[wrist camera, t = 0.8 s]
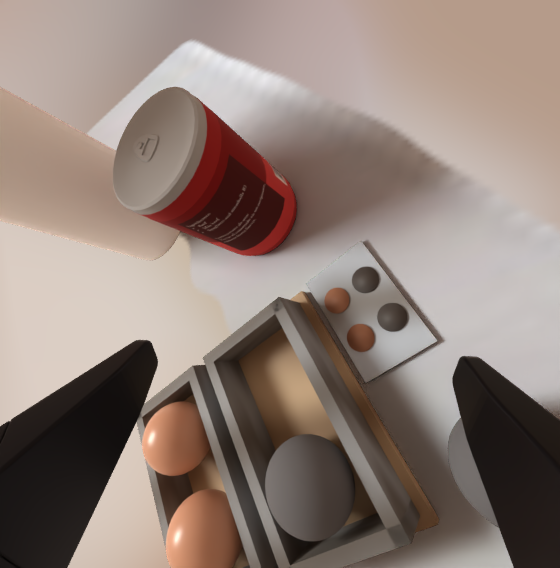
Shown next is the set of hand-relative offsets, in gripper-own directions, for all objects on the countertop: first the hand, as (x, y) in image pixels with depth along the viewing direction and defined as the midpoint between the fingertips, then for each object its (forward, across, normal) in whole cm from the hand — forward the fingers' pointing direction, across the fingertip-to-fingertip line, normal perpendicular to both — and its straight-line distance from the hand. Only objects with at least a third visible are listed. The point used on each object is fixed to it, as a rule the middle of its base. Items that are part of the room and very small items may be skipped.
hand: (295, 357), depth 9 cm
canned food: (+19, +4, +3) cm, 20 cm away
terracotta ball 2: (+1, +6, +18) cm, 19 cm away
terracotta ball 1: (+6, +10, +15) cm, 19 cm away
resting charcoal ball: (+2, 0, +12) cm, 12 cm away
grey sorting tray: (+6, +1, +14) cm, 15 cm away
